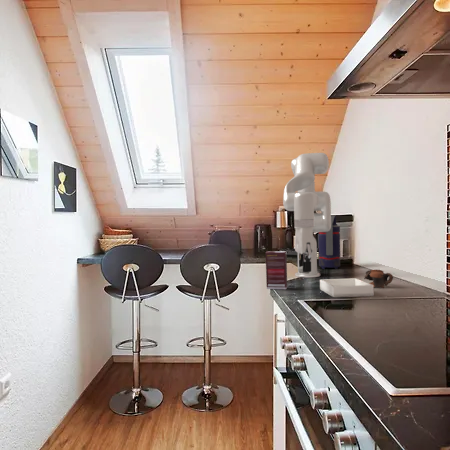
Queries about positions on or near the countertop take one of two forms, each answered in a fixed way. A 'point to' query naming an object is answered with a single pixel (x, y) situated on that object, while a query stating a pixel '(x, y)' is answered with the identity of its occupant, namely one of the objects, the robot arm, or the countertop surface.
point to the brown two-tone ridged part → (378, 278)
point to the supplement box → (276, 270)
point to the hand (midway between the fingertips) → (305, 270)
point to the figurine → (302, 270)
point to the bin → (346, 287)
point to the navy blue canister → (330, 246)
